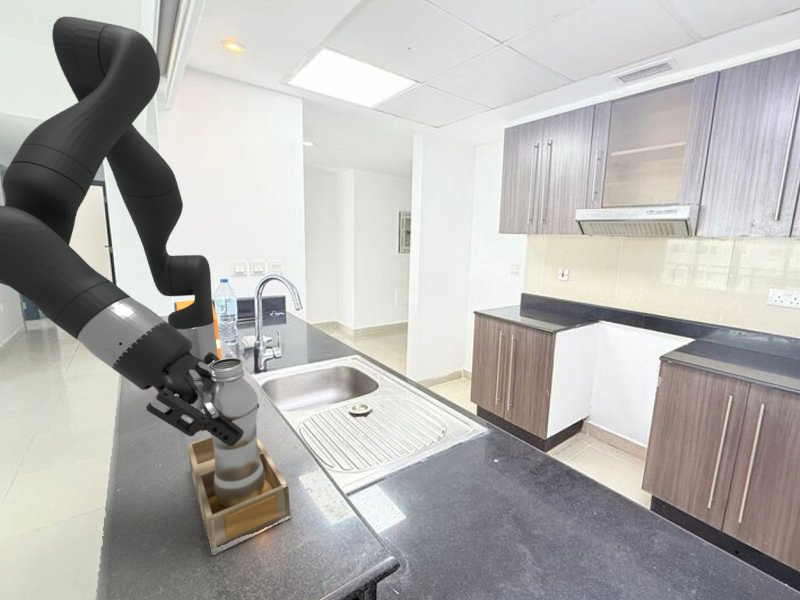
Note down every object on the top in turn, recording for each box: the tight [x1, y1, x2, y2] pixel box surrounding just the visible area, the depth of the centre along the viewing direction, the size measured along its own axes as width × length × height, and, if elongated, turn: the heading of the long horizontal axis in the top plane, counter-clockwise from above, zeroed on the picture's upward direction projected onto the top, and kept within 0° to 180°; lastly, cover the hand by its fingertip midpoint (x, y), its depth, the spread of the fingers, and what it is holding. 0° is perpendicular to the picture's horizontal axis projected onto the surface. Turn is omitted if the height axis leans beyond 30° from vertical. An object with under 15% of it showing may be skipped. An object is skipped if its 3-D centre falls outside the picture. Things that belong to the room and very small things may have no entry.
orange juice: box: [176, 299, 222, 360], centre depth 101 cm, size 8×9×20 cm
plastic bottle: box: [203, 357, 265, 508], centre depth 47 cm, size 6×7×20 cm
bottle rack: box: [186, 436, 291, 549], centre depth 53 cm, size 20×10×5 cm, turn 37°
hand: (247, 424), depth 47 cm, fingers open, 6 cm apart
